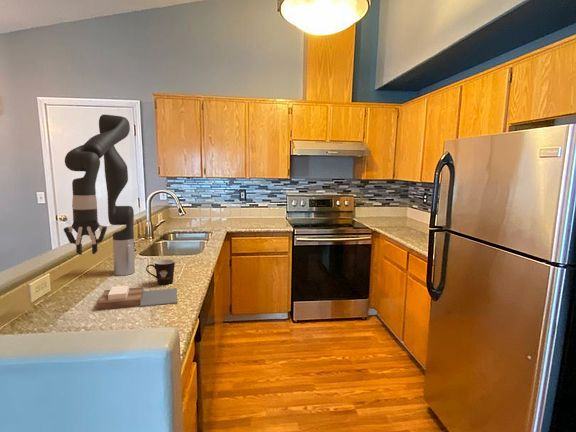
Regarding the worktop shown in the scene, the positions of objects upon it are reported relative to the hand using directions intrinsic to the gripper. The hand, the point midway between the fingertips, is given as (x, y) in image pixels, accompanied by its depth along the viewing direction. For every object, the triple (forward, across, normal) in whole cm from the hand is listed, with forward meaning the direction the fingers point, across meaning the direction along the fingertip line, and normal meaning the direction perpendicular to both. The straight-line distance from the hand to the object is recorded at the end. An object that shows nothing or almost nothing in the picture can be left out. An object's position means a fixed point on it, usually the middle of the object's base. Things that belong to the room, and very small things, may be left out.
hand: (87, 253), depth 118 cm
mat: (+19, -24, 0) cm, 31 cm away
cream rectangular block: (+17, -10, 0) cm, 19 cm away
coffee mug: (+19, -25, -18) cm, 37 cm away
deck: (+19, -11, 0) cm, 22 cm away
